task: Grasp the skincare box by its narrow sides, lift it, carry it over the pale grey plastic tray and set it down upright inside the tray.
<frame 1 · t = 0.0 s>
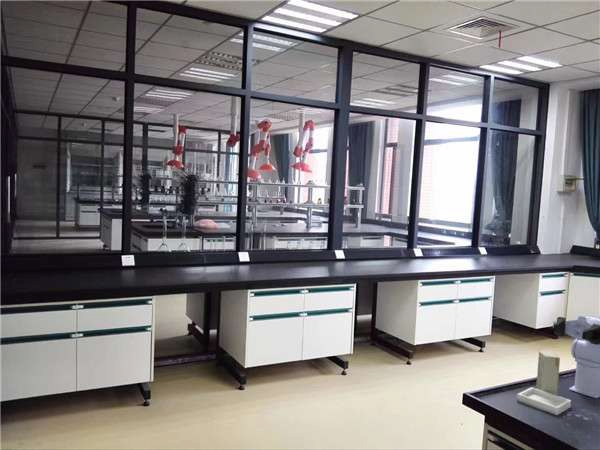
hand: (569, 331, 139), 22 cm above the worktop, tool horizontal, fingers open, 7 cm apart
tray: (543, 403, 142), on the worktop
skincare box: (546, 394, 150), on the worktop
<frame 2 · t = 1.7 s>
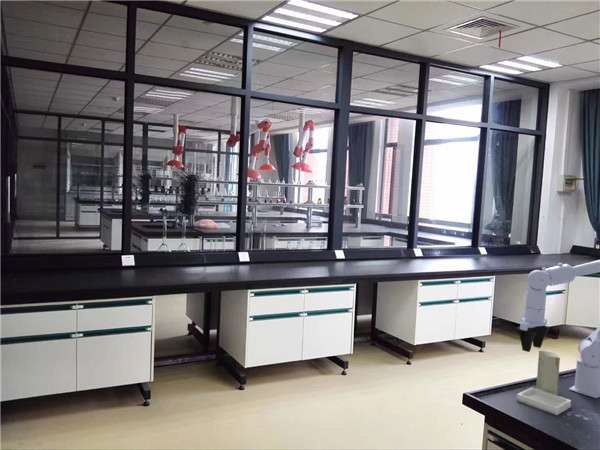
hand: (531, 349, 159), 10 cm above the worktop, tool pointing down, fingers open, 7 cm apart
nothing on the worktop moved.
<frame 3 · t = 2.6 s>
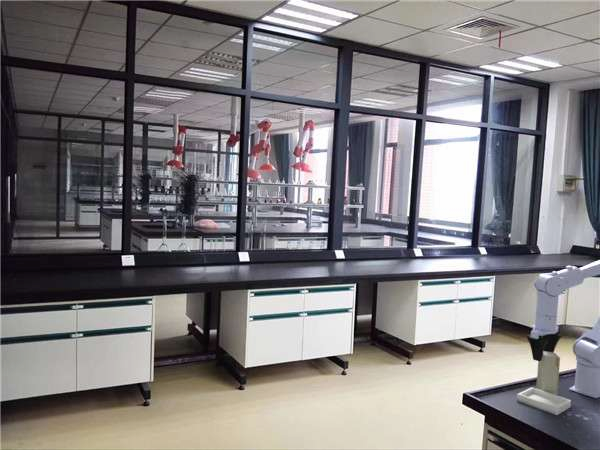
hand: (542, 358, 151), 10 cm above the worktop, tool pointing down, fingers open, 7 cm apart
skincare box: (546, 394, 150), on the worktop, touching gripper
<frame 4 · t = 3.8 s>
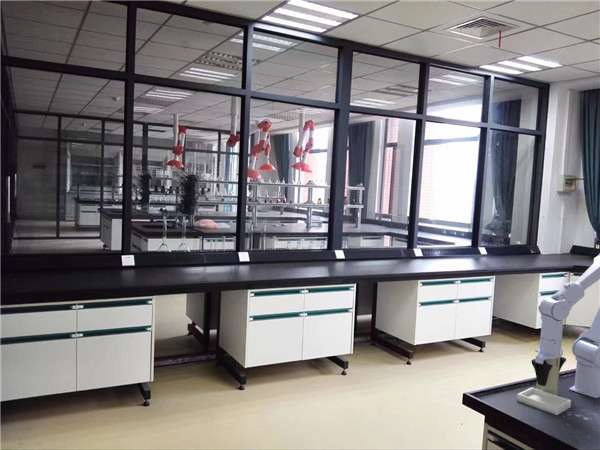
hand: (547, 382, 150), 3 cm above the worktop, tool pointing down, fingers closed on skincare box, 7 cm apart
skincare box: (546, 394, 150), on the worktop, touching gripper
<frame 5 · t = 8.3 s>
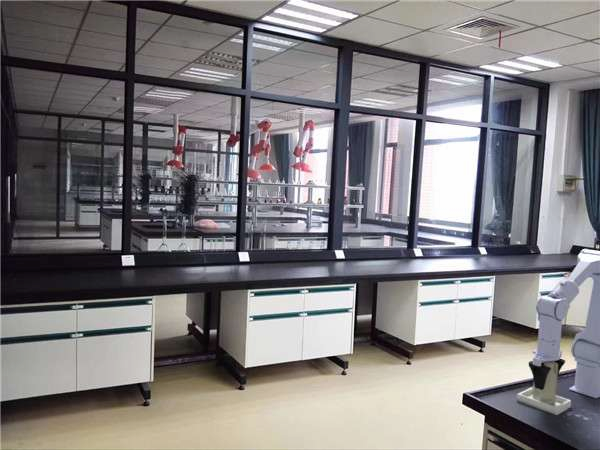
hand: (545, 385, 141), 5 cm above the worktop, tool pointing down, fingers closed on skincare box, 7 cm apart
skincare box: (543, 402, 142), resting on tray, touching gripper
when the fingers open (5 cm above the worktop, at t = 8.4 s): skincare box stays where it is, resting on tray.
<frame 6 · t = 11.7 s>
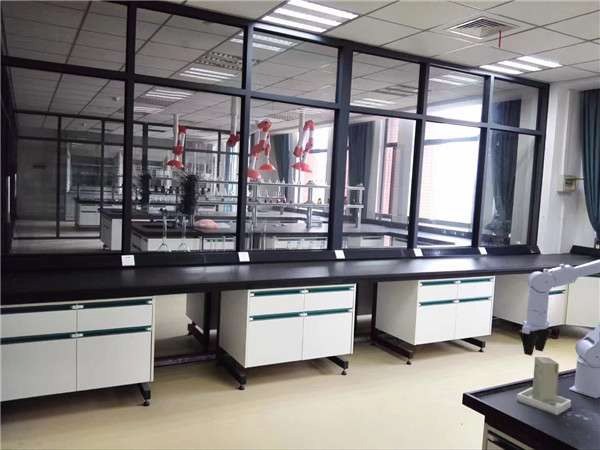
hand: (533, 352, 156), 10 cm above the worktop, tool pointing down, fingers open, 7 cm apart
skincare box: (543, 402, 142), resting on tray
at the end: skincare box 0.1 cm off-centre on the tray, point 0.4 cm above the tray's base; skincare box tilted 0°; the gripper is holding nothing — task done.
